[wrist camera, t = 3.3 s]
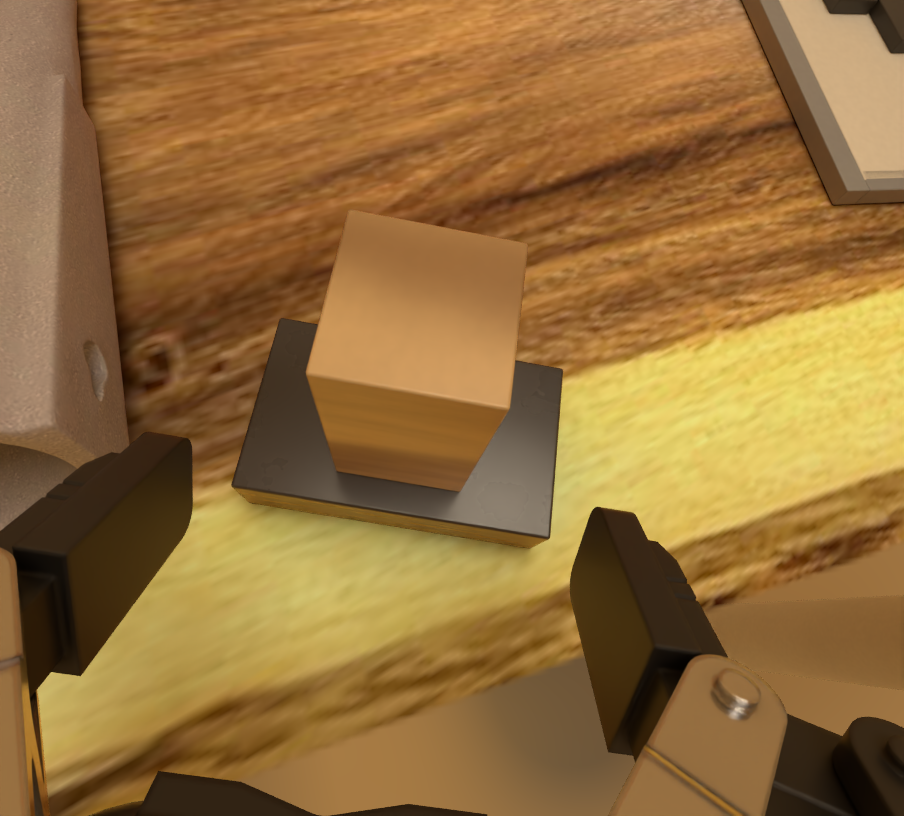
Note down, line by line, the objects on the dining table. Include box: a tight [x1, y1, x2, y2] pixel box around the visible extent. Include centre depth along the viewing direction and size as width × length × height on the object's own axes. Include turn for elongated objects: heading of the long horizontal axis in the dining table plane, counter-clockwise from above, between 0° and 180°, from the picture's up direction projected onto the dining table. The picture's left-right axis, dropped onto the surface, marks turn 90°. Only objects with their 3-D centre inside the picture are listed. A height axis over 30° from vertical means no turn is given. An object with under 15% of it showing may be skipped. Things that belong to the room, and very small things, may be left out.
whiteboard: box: [742, 0, 904, 205], centre depth 31 cm, size 20×10×1 cm, turn 8°
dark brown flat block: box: [869, 0, 904, 53], centre depth 31 cm, size 4×2×1 cm, turn 8°
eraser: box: [231, 210, 563, 548], centre depth 16 cm, size 6×10×10 cm, turn 82°
